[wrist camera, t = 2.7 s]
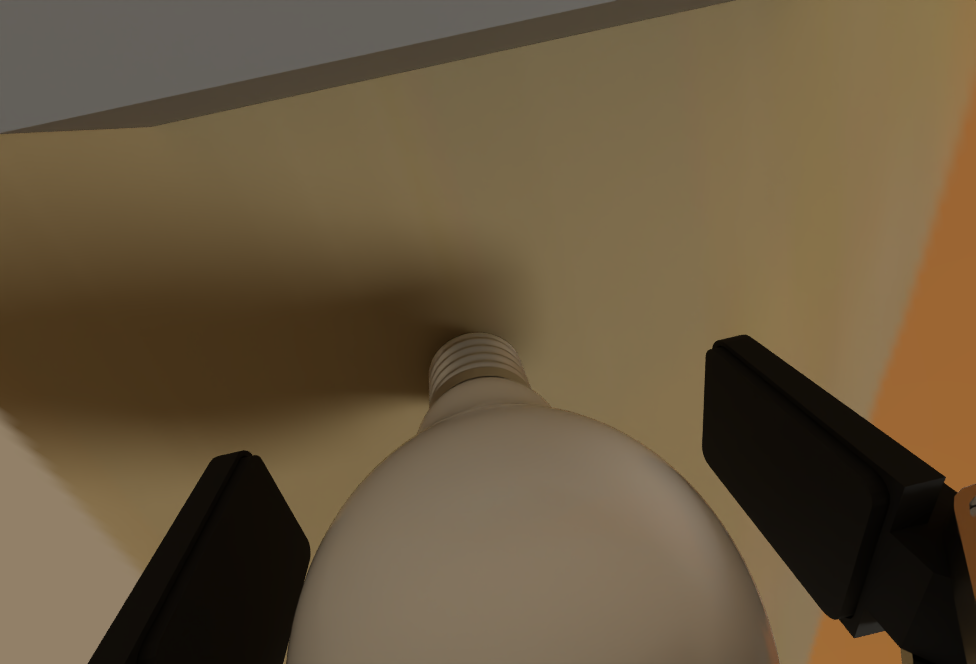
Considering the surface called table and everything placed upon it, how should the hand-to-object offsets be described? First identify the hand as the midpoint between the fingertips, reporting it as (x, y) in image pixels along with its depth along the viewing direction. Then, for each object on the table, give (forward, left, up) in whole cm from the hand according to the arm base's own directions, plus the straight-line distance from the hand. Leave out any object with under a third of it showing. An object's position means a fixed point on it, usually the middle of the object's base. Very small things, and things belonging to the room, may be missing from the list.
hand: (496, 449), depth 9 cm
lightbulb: (0, 0, -5) cm, 5 cm away
